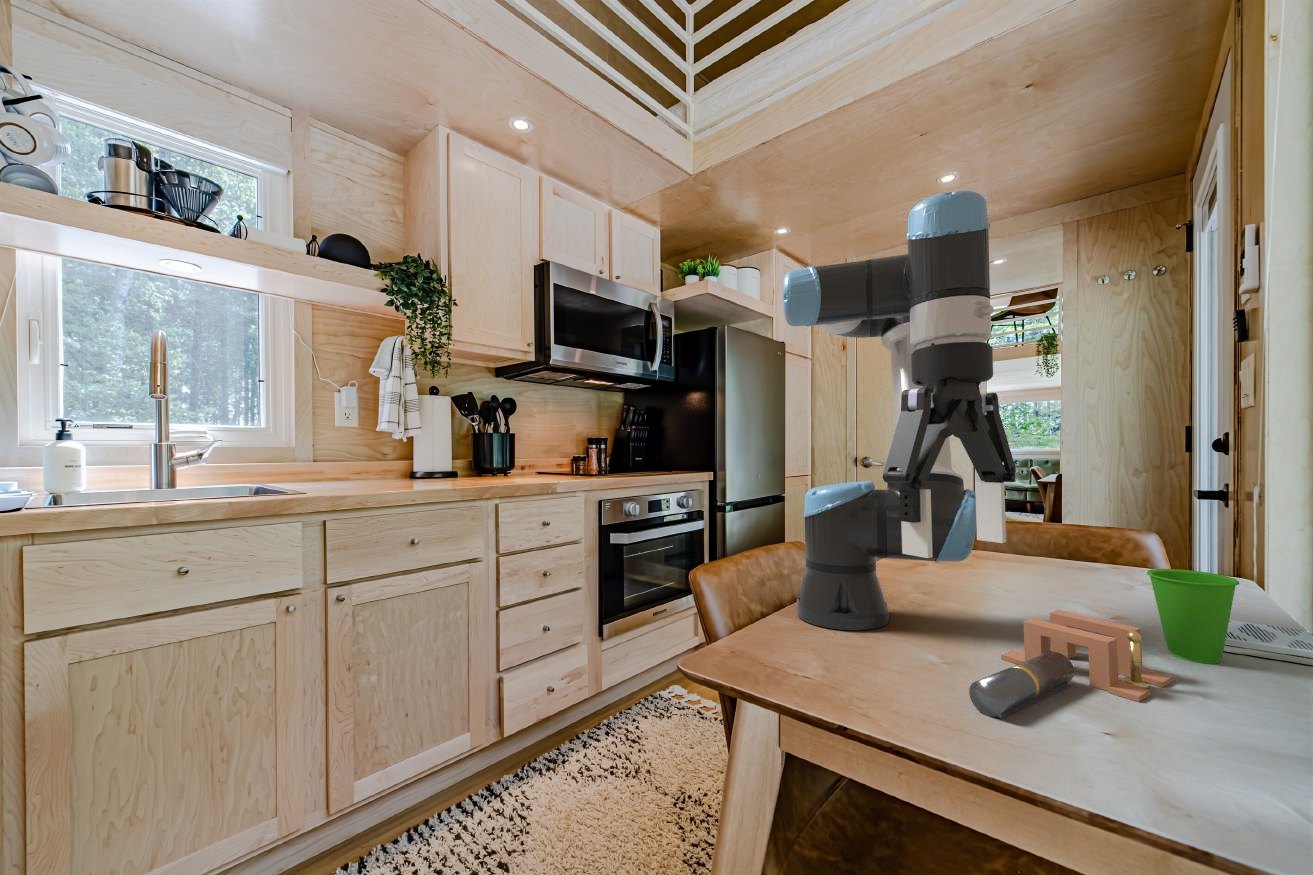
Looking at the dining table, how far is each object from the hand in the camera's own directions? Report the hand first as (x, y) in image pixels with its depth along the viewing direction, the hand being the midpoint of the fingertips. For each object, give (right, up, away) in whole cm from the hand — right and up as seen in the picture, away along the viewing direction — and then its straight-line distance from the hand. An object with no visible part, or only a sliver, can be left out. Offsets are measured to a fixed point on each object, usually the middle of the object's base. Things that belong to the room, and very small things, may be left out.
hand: (956, 548), depth 56 cm
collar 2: (+27, -19, +16) cm, 37 cm away
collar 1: (+21, -19, +12) cm, 31 cm away
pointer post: (+27, -19, +9) cm, 34 cm away
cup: (+42, -19, +17) cm, 49 cm away
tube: (+12, -19, +7) cm, 23 cm away
